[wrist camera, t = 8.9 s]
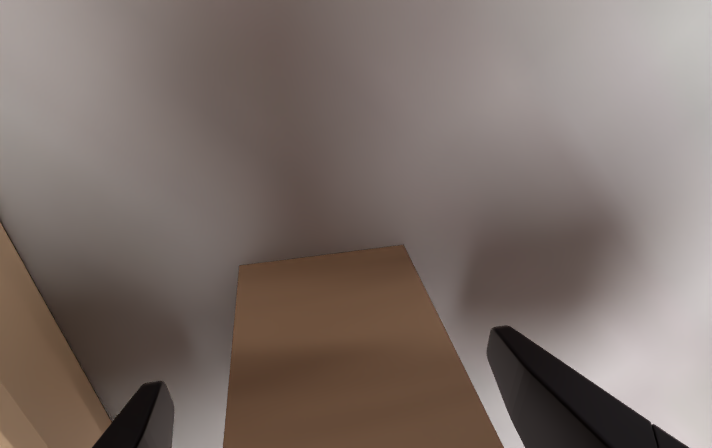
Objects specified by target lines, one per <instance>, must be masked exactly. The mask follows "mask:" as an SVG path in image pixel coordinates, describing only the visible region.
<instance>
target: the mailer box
mask: <svg viewBox="0 0 712 448" xmlns="http://www.w3.org/2000/svg"><path fill="white" fill-rule="evenodd" d="M111 423H112V422H111V420H110V419H109V417H108V415H107V413H106V411H105V410H104V408H103V406H102V404H101V402H100V401H99V399H98V397H97V395H96V393H95V392H94V390H93V388H92V386H91V385H90V383H89V381H88V379H87V377H86V376H85V374H84V372H83V370H82V368H81V367H80V365H79V363H78V361H77V359H76V358H75V356H74V354H73V352H72V350H71V349H70V347H69V345H68V343H67V341H66V340H65V338H64V336H63V334H62V332H61V331H60V329H59V327H58V325H57V323H56V322H55V320H54V318H53V316H52V314H51V313H50V311H49V309H48V307H47V305H46V304H45V302H44V300H43V298H42V297H41V295H40V293H39V291H38V289H37V288H36V286H35V284H34V282H33V280H32V279H31V277H30V275H29V273H28V271H27V270H26V268H25V266H24V264H23V262H22V261H21V259H20V257H19V255H18V253H17V252H16V250H15V248H14V246H13V244H12V243H11V241H10V239H9V237H8V235H7V234H6V232H5V230H4V228H3V226H2V225H1V223H0V448H92V447H93V445H94V444H95V443H96V442H97V440H98V439H99V438H100V437H101V435H102V434H103V433H104V432H105V430H106V429H107V428H108V427H109V425H110V424H111Z"/></svg>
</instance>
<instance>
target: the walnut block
mask: <svg viewBox="0 0 712 448" xmlns="http://www.w3.org/2000/svg"><path fill="white" fill-rule="evenodd" d="M223 448H504V447H503V445H502V443H501V441H500V439H499V437H498V435H497V433H496V431H495V429H494V427H493V425H492V423H491V421H490V419H489V417H488V415H487V413H486V411H485V409H484V407H483V405H482V403H481V401H480V399H479V396H478V394H477V392H476V390H475V388H474V386H473V384H472V382H471V380H470V378H469V376H468V374H467V372H466V370H465V368H464V366H463V364H462V362H461V360H460V358H459V356H458V354H457V352H456V350H455V348H454V346H453V344H452V342H451V340H450V338H449V336H448V334H447V332H446V330H445V328H444V326H443V324H442V322H441V320H440V318H439V316H438V314H437V312H436V310H435V308H434V306H433V304H432V302H431V300H430V298H429V296H428V294H427V292H426V290H425V288H424V286H423V283H422V281H421V279H420V277H419V275H418V273H417V271H416V269H415V267H414V265H413V263H412V261H411V259H410V257H409V255H408V253H407V251H406V249H405V247H404V245H398V246H390V247H382V248H374V249H366V250H358V251H351V252H343V253H335V254H327V255H319V256H311V257H303V258H295V259H287V260H279V261H271V262H264V263H256V264H248V265H240V266H239V274H238V285H237V296H236V308H235V319H234V330H233V341H232V352H231V364H230V375H229V386H228V397H227V408H226V419H225V431H224V442H223Z"/></svg>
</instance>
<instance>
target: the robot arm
mask: <svg viewBox="0 0 712 448" xmlns="http://www.w3.org/2000/svg"><path fill="white" fill-rule="evenodd" d="M487 358H488V361H489V364H490V366H491V369H492V372H493V374H494V377H495V379H496V382H497V385H498V387H499V390H500V393H501V395H502V398H503V400H504V403H505V406H506V408H507V411H508V413H509V416H510V418H511V420H512V422H513V424H514V426H515V428H516V430H517V432H518V434H519V436H520V438H521V440H522V442H523V444H524V446H525V448H689V447H688V446H686V445H685V444H683V443H681V442H680V441H678V440H677V439H675V438H674V437H672V436H671V435H669V434H668V433H666V432H665V431H663V430H662V429H661V428H659V427H658V426H656V425H654V424H652V425H651V422H650V421H649V420H647V419H646V418H644V417H643V416H641V415H640V414H638V413H637V412H635V411H634V410H632V409H631V408H629V407H628V406H627V405H625V404H624V403H622V402H621V401H619V400H618V399H616V398H615V397H613V396H612V395H610V394H609V393H607V392H606V391H604V390H603V389H602V388H600V387H599V386H597V385H596V384H594V383H593V382H591V381H590V380H588V379H587V378H585V377H584V376H582V375H581V374H579V373H578V372H577V371H575V370H574V369H572V368H571V367H569V366H568V365H566V364H565V363H563V362H562V361H560V360H559V359H557V358H556V357H554V356H553V355H552V354H550V353H549V352H547V351H546V350H544V349H543V348H541V347H540V346H538V345H537V344H535V343H534V342H532V341H531V340H529V339H528V338H527V337H525V336H524V335H522V334H521V333H519V332H518V331H516V330H515V329H513V328H512V327H510V326H507V325H505V326H498V327H494V328H492V329H491V331H490V336H489V341H488V346H487ZM173 423H174V404H173V401H172V399H171V396H170V394H169V391H168V389H167V386H166V384H165V383H164V382H163V381H155V382H149V383H145V384H143V385H142V386H141V387H140V388H139V389H138V391H137V392H136V393H135V394H134V396H133V397H132V398H131V399H130V401H129V402H128V403H127V404H126V406H125V407H124V408H123V409H122V411H121V412H120V413H119V414H118V416H117V417H116V418H115V419H114V420H113V422H112V423H111V424H110V425H109V427H108V428H107V429H106V430H105V432H104V433H103V434H102V435H101V437H100V438H99V439H98V440H97V442H96V443H95V444H94V445H93V447H92V448H171V447H172V435H173Z"/></svg>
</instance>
